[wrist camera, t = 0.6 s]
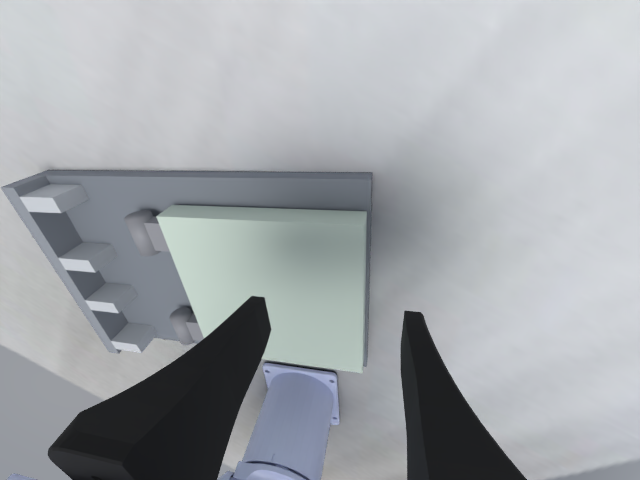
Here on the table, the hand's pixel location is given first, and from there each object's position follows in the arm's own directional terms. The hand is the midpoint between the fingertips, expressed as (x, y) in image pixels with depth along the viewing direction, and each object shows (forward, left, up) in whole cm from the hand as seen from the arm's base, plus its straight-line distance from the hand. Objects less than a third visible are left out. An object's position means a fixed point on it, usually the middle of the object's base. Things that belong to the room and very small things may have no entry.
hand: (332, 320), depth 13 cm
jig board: (-6, +12, -10) cm, 17 cm away
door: (-6, +8, -8) cm, 13 cm away
